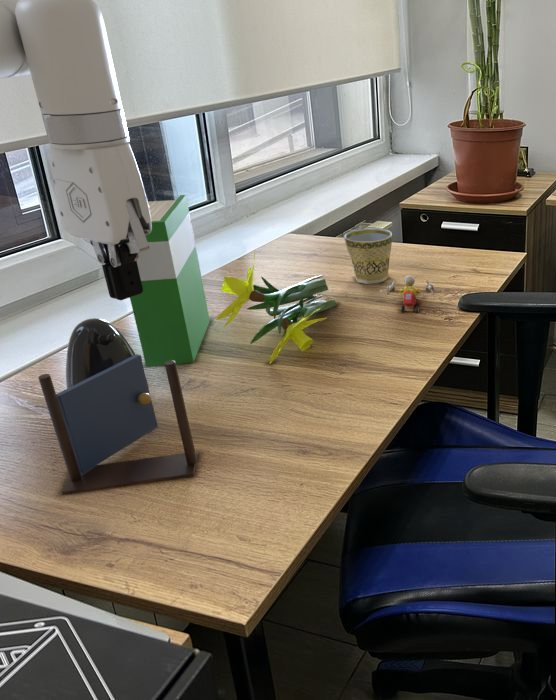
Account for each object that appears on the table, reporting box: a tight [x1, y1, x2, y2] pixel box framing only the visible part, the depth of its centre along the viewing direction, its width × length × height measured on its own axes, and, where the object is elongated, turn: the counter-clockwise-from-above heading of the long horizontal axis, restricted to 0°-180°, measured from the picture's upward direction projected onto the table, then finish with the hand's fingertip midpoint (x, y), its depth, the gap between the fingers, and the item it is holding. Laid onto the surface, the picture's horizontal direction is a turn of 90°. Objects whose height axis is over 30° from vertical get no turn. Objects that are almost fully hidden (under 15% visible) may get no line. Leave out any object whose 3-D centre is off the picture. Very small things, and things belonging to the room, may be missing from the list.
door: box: [56, 353, 159, 473], centre depth 89 cm, size 12×2×11 cm, turn 155°
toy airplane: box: [379, 275, 442, 314], centre depth 137 cm, size 9×9×6 cm
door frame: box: [38, 360, 199, 496], centre depth 85 cm, size 15×5×15 cm, turn 103°
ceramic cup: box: [343, 227, 393, 285], centre depth 151 cm, size 13×10×10 cm
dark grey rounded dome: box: [65, 317, 150, 389], centre depth 98 cm, size 10×10×15 cm
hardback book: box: [129, 194, 211, 367], centre depth 118 cm, size 18×7×24 cm, turn 10°
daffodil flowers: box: [214, 251, 337, 365], centre depth 121 cm, size 17×15×35 cm
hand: (127, 295), depth 81 cm, fingers closed
